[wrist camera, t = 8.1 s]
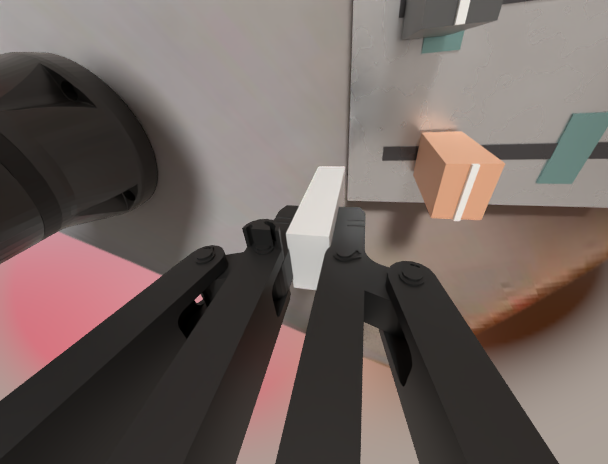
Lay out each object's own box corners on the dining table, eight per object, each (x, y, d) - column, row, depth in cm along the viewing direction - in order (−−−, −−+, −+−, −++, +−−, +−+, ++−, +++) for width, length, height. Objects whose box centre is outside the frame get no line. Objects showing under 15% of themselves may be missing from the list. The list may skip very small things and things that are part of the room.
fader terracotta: (413, 175, 17) (431, 220, 12) (421, 132, 16) (447, 165, 11) (448, 175, 17) (482, 222, 12) (461, 131, 15) (507, 165, 10)
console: (348, 190, 22) (347, 201, 20) (357, -83, 12) (356, -105, 11) (602, 194, 18) (627, 209, 16) (896, -206, 8) (1028, -272, 7)
